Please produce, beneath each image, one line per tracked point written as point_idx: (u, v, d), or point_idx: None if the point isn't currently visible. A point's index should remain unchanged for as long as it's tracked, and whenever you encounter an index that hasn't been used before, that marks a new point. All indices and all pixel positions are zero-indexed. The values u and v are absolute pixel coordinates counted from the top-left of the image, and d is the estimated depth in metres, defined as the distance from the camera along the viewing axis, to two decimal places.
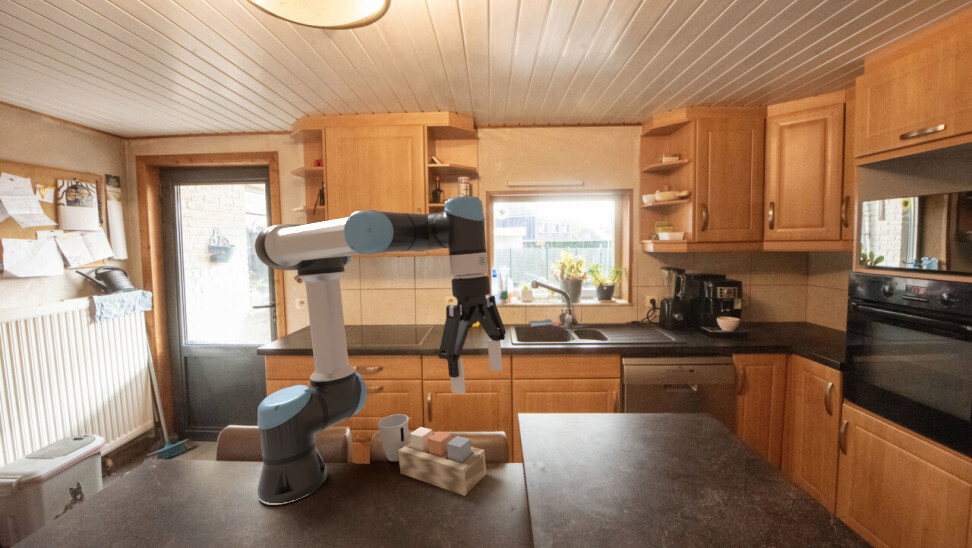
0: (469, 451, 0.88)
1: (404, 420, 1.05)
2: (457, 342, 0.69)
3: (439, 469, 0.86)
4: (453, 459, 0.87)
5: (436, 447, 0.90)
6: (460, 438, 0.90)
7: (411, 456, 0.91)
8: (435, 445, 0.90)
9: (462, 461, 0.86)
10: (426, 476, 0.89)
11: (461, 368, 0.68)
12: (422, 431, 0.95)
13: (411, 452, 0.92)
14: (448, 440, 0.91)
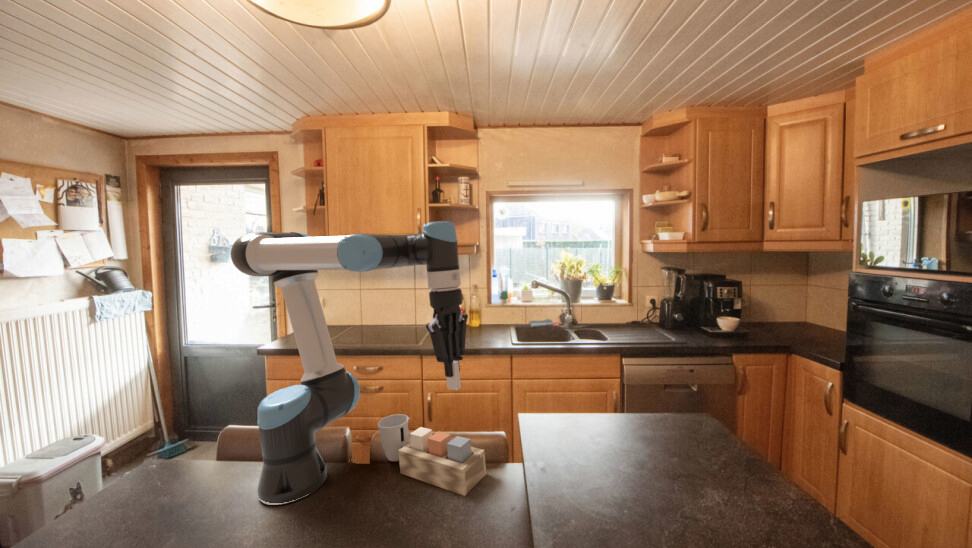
0: (469, 451, 0.88)
1: (404, 420, 1.05)
2: (447, 350, 0.85)
3: (439, 469, 0.86)
4: (453, 459, 0.87)
5: (436, 447, 0.90)
6: (460, 438, 0.90)
7: (411, 456, 0.91)
8: (435, 445, 0.90)
9: (462, 461, 0.86)
10: (426, 476, 0.89)
11: (455, 369, 0.86)
12: (422, 431, 0.95)
13: (411, 452, 0.92)
14: (448, 440, 0.91)
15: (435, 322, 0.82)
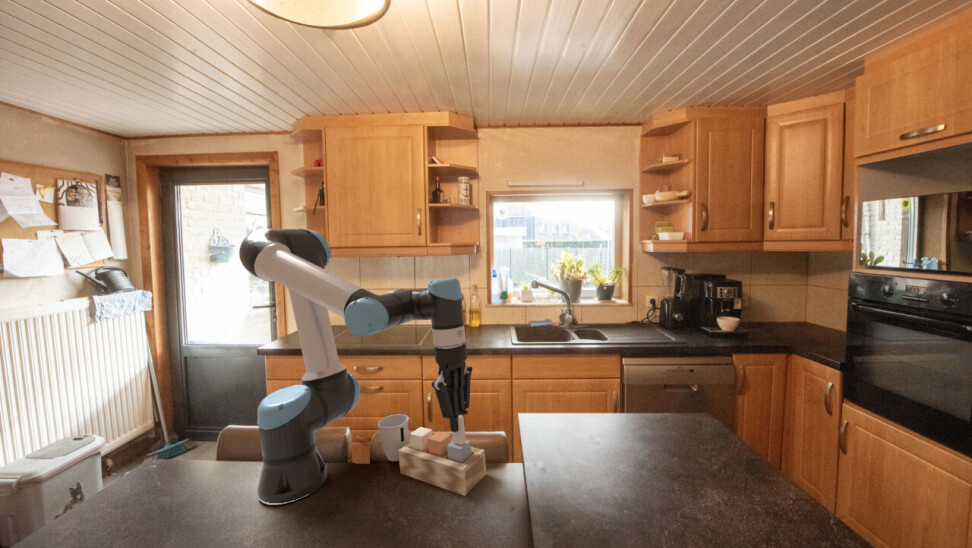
0: (469, 453, 0.88)
1: (404, 420, 1.05)
2: (452, 405, 0.86)
3: (439, 469, 0.86)
4: None
5: (436, 447, 0.90)
6: None
7: (411, 456, 0.91)
8: (435, 445, 0.90)
9: None
10: (426, 476, 0.89)
11: (460, 424, 0.87)
12: (422, 431, 0.95)
13: (411, 452, 0.92)
14: (448, 440, 0.91)
15: (440, 380, 0.83)
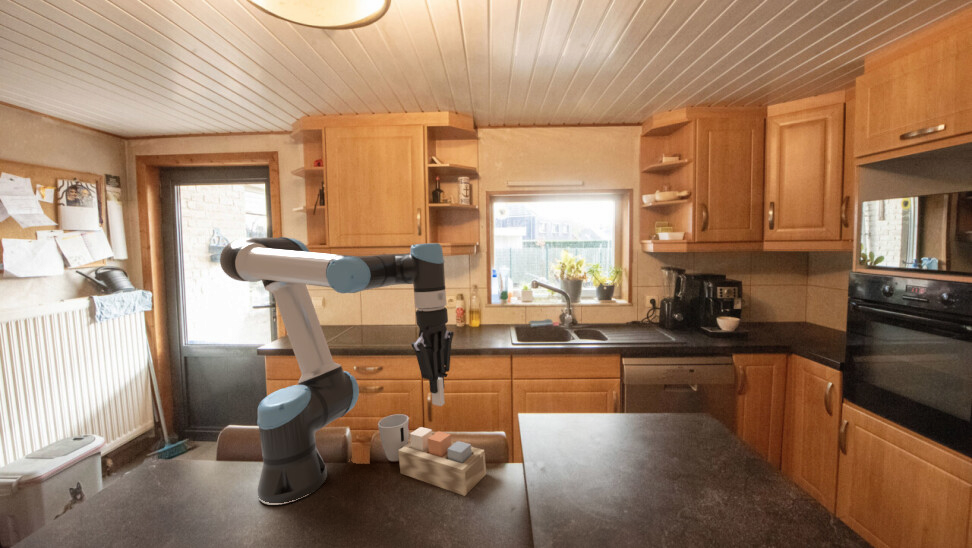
0: (469, 456, 0.88)
1: (404, 420, 1.05)
2: (432, 367, 0.88)
3: (439, 469, 0.86)
4: None
5: (436, 447, 0.90)
6: (461, 443, 0.90)
7: (411, 456, 0.91)
8: (435, 445, 0.90)
9: None
10: (426, 476, 0.89)
11: (439, 386, 0.89)
12: (422, 431, 0.95)
13: (411, 452, 0.92)
14: (448, 440, 0.91)
15: (420, 341, 0.85)
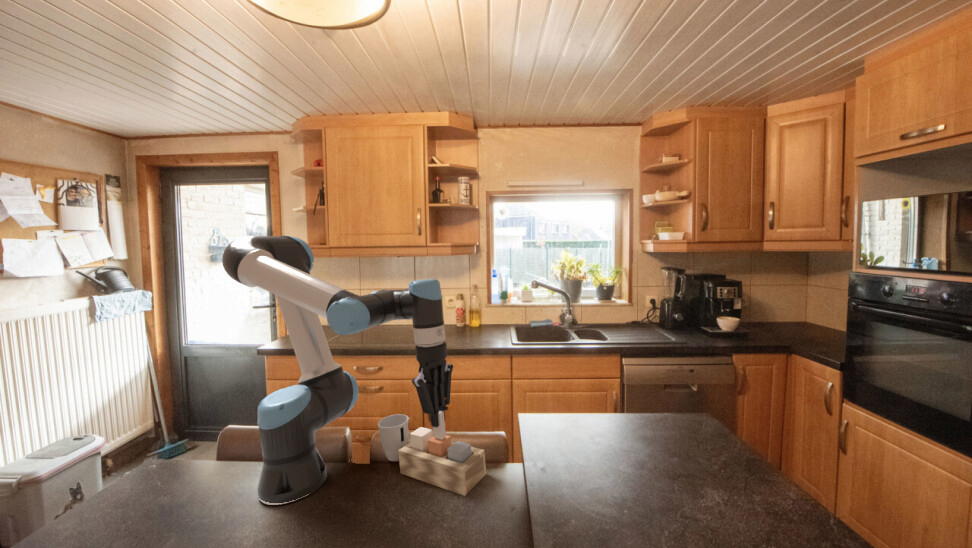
0: (469, 456, 0.88)
1: (404, 420, 1.05)
2: (432, 402, 0.89)
3: (439, 469, 0.86)
4: None
5: (436, 449, 0.90)
6: (461, 443, 0.90)
7: (411, 456, 0.91)
8: (435, 447, 0.90)
9: None
10: (426, 476, 0.89)
11: (440, 420, 0.90)
12: (422, 431, 0.95)
13: (411, 452, 0.92)
14: (448, 442, 0.91)
15: (420, 377, 0.86)
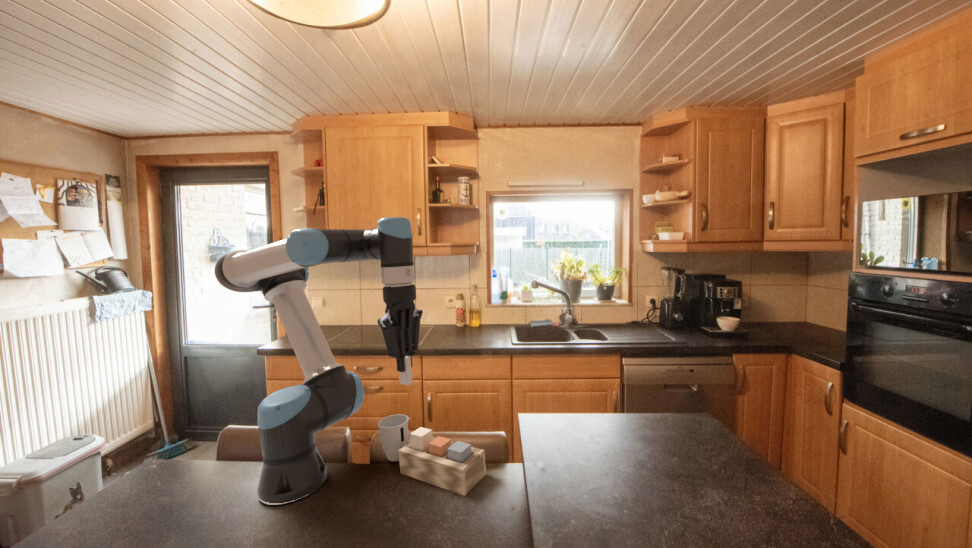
0: (469, 456, 0.88)
1: (404, 420, 1.05)
2: (399, 345, 0.86)
3: (439, 469, 0.86)
4: None
5: (436, 452, 0.90)
6: (461, 443, 0.90)
7: (411, 456, 0.91)
8: (435, 450, 0.90)
9: None
10: (426, 476, 0.89)
11: (407, 364, 0.87)
12: (422, 431, 0.95)
13: (411, 452, 0.92)
14: (448, 445, 0.91)
15: (387, 317, 0.83)
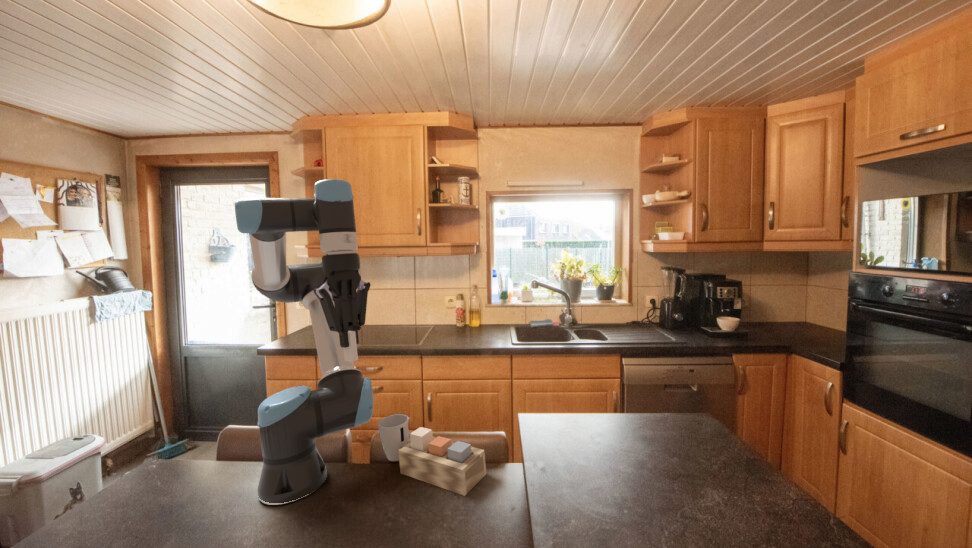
0: (469, 456, 0.88)
1: (404, 420, 1.05)
2: (341, 318, 0.79)
3: (439, 469, 0.86)
4: None
5: (436, 452, 0.90)
6: (461, 443, 0.90)
7: (411, 456, 0.91)
8: (435, 450, 0.90)
9: None
10: (426, 476, 0.89)
11: (350, 340, 0.80)
12: (422, 431, 0.95)
13: (411, 452, 0.92)
14: (448, 445, 0.91)
15: (324, 287, 0.76)
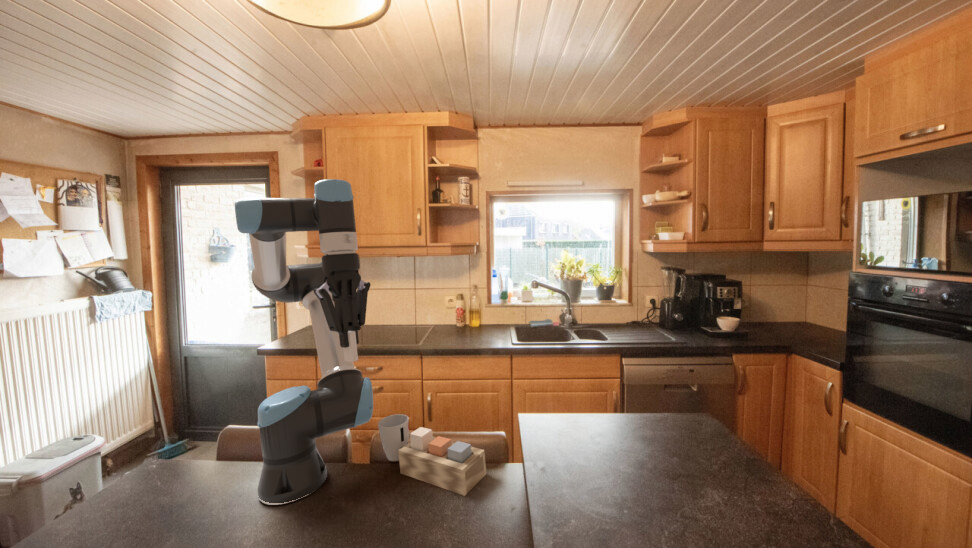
0: (469, 456, 0.88)
1: (404, 420, 1.05)
2: (340, 318, 0.79)
3: (439, 469, 0.86)
4: None
5: (436, 452, 0.90)
6: (461, 443, 0.90)
7: (411, 456, 0.91)
8: (435, 450, 0.90)
9: None
10: (426, 476, 0.89)
11: (350, 340, 0.80)
12: (422, 431, 0.95)
13: (411, 452, 0.92)
14: (448, 445, 0.91)
15: (324, 287, 0.76)
